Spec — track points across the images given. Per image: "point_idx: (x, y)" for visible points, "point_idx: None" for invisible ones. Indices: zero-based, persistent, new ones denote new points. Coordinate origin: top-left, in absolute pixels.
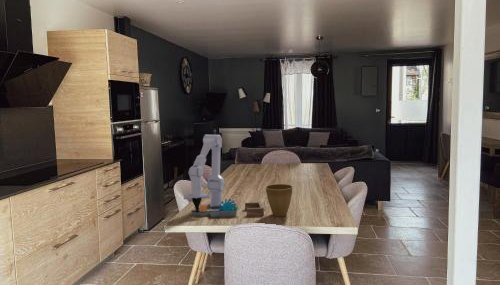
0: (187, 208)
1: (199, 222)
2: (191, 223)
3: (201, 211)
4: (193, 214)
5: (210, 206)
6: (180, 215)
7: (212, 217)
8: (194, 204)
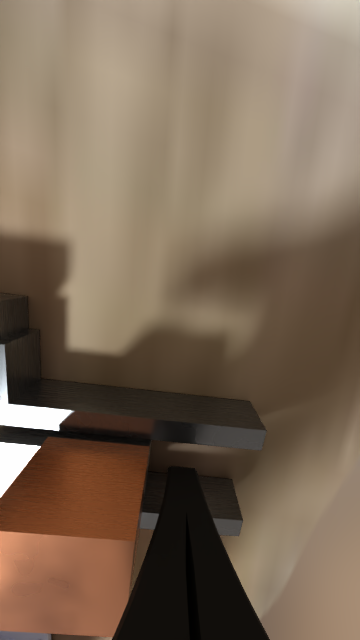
0: None
1: (180, 137)
2: (291, 122)
3: (125, 445)
4: (232, 415)
5: None
6: (345, 468)
7: (4, 294)
8: (256, 632)
